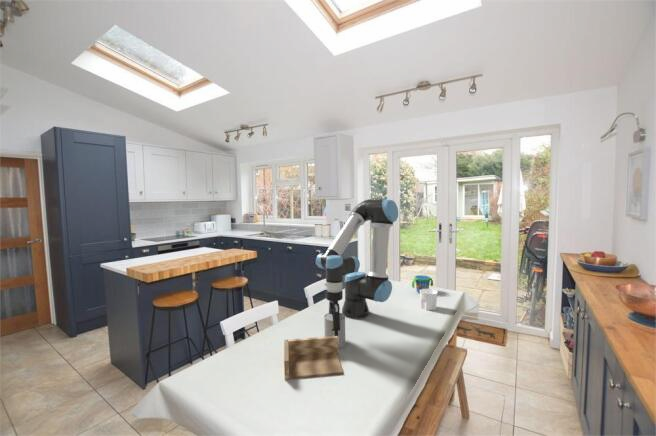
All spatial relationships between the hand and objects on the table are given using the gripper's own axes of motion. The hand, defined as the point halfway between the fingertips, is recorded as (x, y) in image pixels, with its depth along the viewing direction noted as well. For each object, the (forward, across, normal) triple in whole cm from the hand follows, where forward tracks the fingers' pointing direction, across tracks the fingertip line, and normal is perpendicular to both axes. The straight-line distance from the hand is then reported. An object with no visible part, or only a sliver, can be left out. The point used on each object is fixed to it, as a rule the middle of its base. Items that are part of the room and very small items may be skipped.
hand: (334, 338), depth 140 cm
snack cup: (0, -62, +72) cm, 95 cm away
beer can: (+2, 0, 0) cm, 2 cm away
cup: (+1, -33, +62) cm, 70 cm away
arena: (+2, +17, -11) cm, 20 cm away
